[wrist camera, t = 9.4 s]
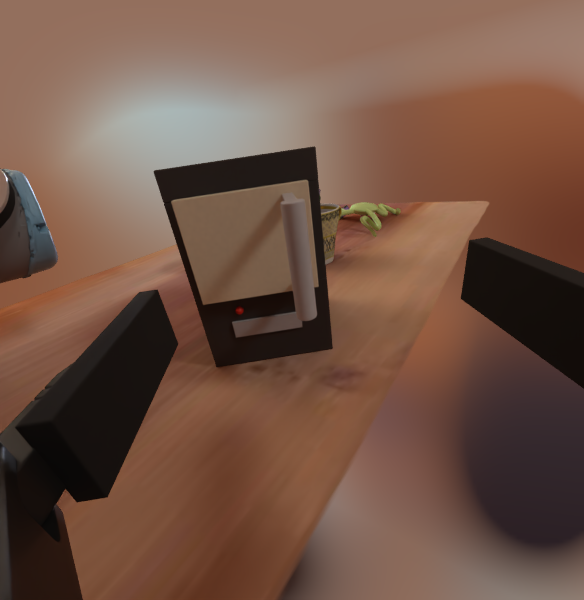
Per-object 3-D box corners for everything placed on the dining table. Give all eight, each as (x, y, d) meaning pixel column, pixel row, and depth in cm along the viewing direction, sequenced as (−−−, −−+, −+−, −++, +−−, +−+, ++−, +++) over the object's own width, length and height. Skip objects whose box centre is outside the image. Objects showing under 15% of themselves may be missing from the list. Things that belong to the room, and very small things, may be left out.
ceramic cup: (317, 274, 51) (311, 217, 47) (281, 264, 58) (273, 214, 54) (362, 252, 58) (361, 200, 54) (325, 245, 65) (321, 199, 61)
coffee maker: (333, 351, 32) (316, 146, 23) (215, 370, 32) (150, 171, 22) (314, 297, 44) (298, 149, 35) (229, 310, 44) (190, 165, 34)
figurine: (300, 238, 74) (298, 216, 71) (344, 213, 93) (343, 195, 90) (372, 241, 64) (371, 215, 61) (404, 212, 83) (405, 192, 80)
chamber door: (331, 318, 22) (321, 187, 18) (187, 341, 22) (142, 215, 18) (317, 283, 28) (306, 179, 24) (204, 300, 28) (173, 199, 24)
